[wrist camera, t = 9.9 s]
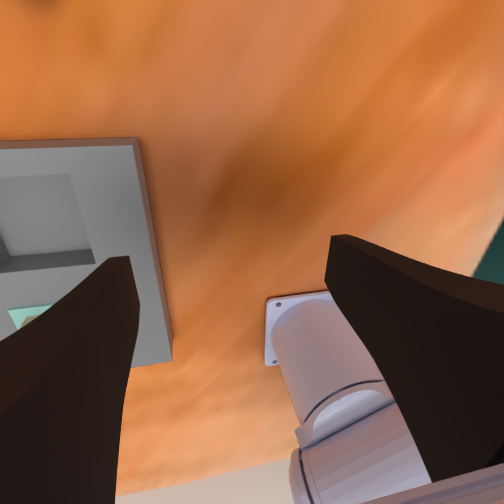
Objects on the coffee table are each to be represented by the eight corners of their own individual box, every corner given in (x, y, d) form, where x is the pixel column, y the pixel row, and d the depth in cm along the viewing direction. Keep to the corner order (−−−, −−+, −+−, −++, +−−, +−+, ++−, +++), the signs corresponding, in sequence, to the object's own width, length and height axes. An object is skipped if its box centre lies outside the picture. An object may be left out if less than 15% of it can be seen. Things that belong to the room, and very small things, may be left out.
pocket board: (137, 137, 17) (131, 145, 15) (172, 337, 25) (172, 363, 23) (-111, 144, 15) (-163, 155, 13) (12, 361, 23) (-6, 392, 21)
